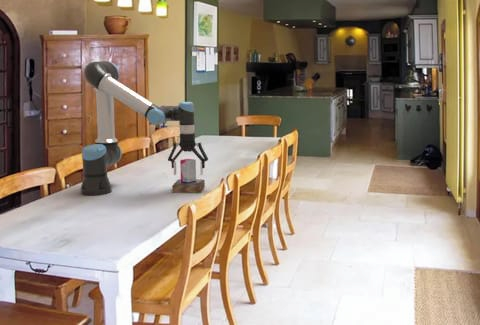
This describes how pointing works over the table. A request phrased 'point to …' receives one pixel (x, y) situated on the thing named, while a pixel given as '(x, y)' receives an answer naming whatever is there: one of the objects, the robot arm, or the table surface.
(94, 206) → the table surface
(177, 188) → the walnut stand
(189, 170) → the supplement box
